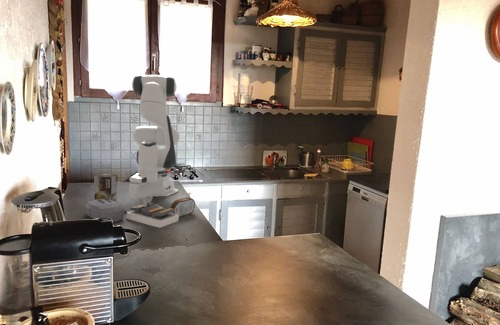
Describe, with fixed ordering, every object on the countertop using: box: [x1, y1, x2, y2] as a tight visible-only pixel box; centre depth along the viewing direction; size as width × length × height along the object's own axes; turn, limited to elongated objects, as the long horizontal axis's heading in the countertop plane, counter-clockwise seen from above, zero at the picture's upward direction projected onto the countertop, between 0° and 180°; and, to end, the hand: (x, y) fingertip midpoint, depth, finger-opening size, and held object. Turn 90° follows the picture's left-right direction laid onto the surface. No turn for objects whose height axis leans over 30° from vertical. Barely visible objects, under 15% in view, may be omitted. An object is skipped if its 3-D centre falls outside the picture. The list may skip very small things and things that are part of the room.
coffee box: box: [93, 173, 118, 202], centre depth 205 cm, size 9×6×16 cm
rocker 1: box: [129, 203, 155, 211], centre depth 192 cm, size 10×5×2 cm, turn 151°
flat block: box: [152, 208, 175, 216], centre depth 186 cm, size 10×5×2 cm, turn 151°
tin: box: [169, 196, 196, 218], centre depth 200 cm, size 15×3×8 cm, turn 145°
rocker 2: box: [141, 203, 165, 215], centre depth 189 cm, size 10×5×2 cm, turn 151°
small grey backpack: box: [84, 198, 125, 223], centre depth 188 cm, size 15×8×20 cm
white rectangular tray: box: [124, 210, 180, 229], centre depth 192 cm, size 13×28×3 cm, turn 61°
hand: (146, 206), depth 190 cm, fingers closed
